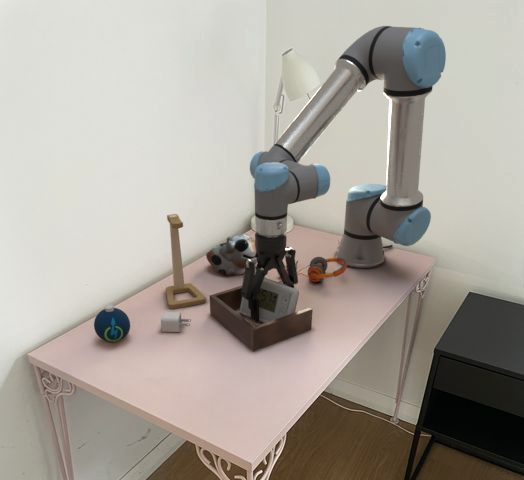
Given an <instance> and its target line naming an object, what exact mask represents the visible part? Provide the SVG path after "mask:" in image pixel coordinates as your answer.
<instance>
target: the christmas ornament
mask: <svg viewBox="0 0 524 480" xmlns="http://www.w3.org/2000/svg"><path fill="white" fill-rule="evenodd" d="M93 329H94V332H95V334H96V335H97V337H98V338H99V339H100V340H102V341H104V342H107V343H118V342H121V341H123V340H124V339H126V337H127V336H128V335H129V333H130V330H131V320H130V318H129V316H128V315H127V313H126V312H125V311H123V310H122V309H120V308H118V307H114V305H113V304H107V305H105V306H104V309H102V310H100V311H99V312H98V313H97V315H96V316H95V318H94V321H93Z"/></svg>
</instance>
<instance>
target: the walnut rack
mask: <svg viewBox="0 0 524 480" xmlns="http://www.w3.org/2000/svg"><path fill="white" fill-rule="evenodd" d="M241 291H242V285H239V286H236V287H232V288H229V289H226V290H223V291H219V292H216V293H213V294H210V295H208V296H209V311H210V313H209V314H210V317H212V318H213V319H214V320H215V321H216V322H218V323H219V324H220V325H221V327H223V328H224V329H226V330H227V331H228V332H229V333H230V334H232V335H233V336H234V337H235V338H236V339H238V340H239V341H240V342H241V343H243V345H245V346H246V347H247V348H248V349H250V350H251V351H252V352H256V351H259V350H261V349H264V348H266V347H269V346H272V345H274V344H277V343H279V342H282V341H285V340H288V339H291V338H293V337H296V336H298V335H301V334H304V333H306V332H309V331H311V330H312V325H313V311H314V310H313V309H314V308H311V307H307V308H304V309H301V310H298V311H295V313H292V314H289V315H287V316H284V317H281V318H278V319H275V320H272V321H269V322H267V323H261V324H258V325H256V326H254V325H253V324H252V323H251V322H250V321H248V320H247V319H246V318H244V317H243V316H242V315H241V314H239V313H238V312H237V311H236V310H240V306H241V301H242V296H241Z"/></svg>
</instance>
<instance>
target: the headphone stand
mask: <svg viewBox="0 0 524 480" xmlns="http://www.w3.org/2000/svg"><path fill="white" fill-rule="evenodd" d="M166 219H167V222H168V223H169V235H170V249H171V263H172V265H171V266H172V279H173V280H172V281H173V285H169V286H166V287H165V295H166V302H167V307H168V309H171V310H175V309H181V308H185V307H192V306H197V305H203V304H205V303H206V301H207V298H206V296H205V295H204V294H203V293H202V292H201V291H200V290H199V289H198V288H196V286H195V285H193V283H189V282H186V283H185V277H184V269H183V268H184V267H183V259H182V249H181V240H180V231H179V229H182V228H183V227H184V221H182V220H181V218H180V216H179V215H178V214H177V213H172V214H167V216H166ZM182 293H190V294H191V295H192V296H193V297H192V298H186V299H181V300H175V296H174V295H176V294H182Z"/></svg>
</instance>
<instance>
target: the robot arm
mask: <svg viewBox="0 0 524 480" xmlns="http://www.w3.org/2000/svg"><path fill="white" fill-rule="evenodd" d="M446 53H447V51H446V46H445V42H444V41H443V39H442V37H441V36H440V35H439V33H437V31H434V30H431V29H425V28H422V27H407V26H391V25H382V26H377V27H374V28H372V29H369V30H368V31H367V32H365V33H364V34H362V35H361V36H360V37H358V38H357V39H356V40H355V41H353V43H352V44H351V45H349V46H348V48H346V49H345V50H344V52H343V53H342V54H341V55H340V57H339V58H338V59H337V60H336V61H335V63H334V70H333V71H332V72H331V74H330V75H329V76H328V78H327V79H326V80H325V81H324V82H323V83H322V85H321V86H320V87H319V88H318V90H317V91H316V92H315V93H314V94H313V96H312V97H311V98H310V99H309V101H308V102H307V103H306V104H305V105H304V107H303V108H302V109H301V111H300V112H299V113H298V115H297V116H296V117H295V118H294V119H293V121H291V123H290V124H289V125H288V127H287V128H286V129H285V130H284V132H283V133H282V134H281V135H280V136H279V138H278V139H277V140H276V141H275V143H274V144H273V145H272V146H271V147H270V148H269V150H268V151H267V150H265V151H264V150H261V151H259V152H256V153H255V154H254V155H253V156H252V157H251V160H250V162H249V172H250V175H251V177H252V178H253V179H254V183H253V188H254V232H255V233H254V240H255V248H256V254H255V257H254V258H252V259H250V260H249V259H245V261H244V263H245V271H244V273H243V280H242V285H241V286H242V291H241V296H242V297H244V298H245V299H247V300H248V308H249V309H250V310H251V318H250V319H251V320H252V321H254V322H255V323H260V322H259V299H258V298H257V295H258V293H259V290H260V287H261V285H262V282H263V280H264V277H265V278H266V276H267V275H268V273H269V271H271V270H273V269H274V270H276V272H277V274H278V276H279V277H280V278H279V279H280V281H282V282H281V283H283V284H286V285H287V286H289V287H292V288H295V285H298V283H299V279H298V275H297V274H298V273H297V272H298V271H297V269H296V268H297V264H296V253H297V251H296V250H295V249H294V248H292V247H291V246H287V236H288V235H287V231H288V207H289V205H293V204H296V203H301V202H303V201H308V200H312V199H317V198H319V197H321V196H324V195H325V194H327V193H328V191H329V190H330V188H331V175H330V172H329V170H328V168H327V167H326V165H324V164H321V163H311V164H307V165H305V164H302V163H300V161H301V160H302V159H303V158H304V157H305V155H306V154H307V153H308V151H309V150H310V149H311V148H312V147H313V146H314V144H315V143H316V142H317V140H318V139H319V138H320V137H321V136H322V134H323V133H324V132H325V131H326V129H328V127H329V126H330V125H331V124H332V122H333V121H334V119H335V118H336V117H337V116H338V115H339V113H340V112H342V110H343V109H344V107H345V106H346V105H347V104H348V102H349V101H350V100H351V99H352V97H353V96H354V95H355V94H356V93H357V92H361V91H363V90H364V89H365V88H366V87H367V86H368V84H369V83H371V82H373V81H377V80H379V81H383V95H384V96H385V97H386V98H387V99H388V100H389V104H388V129H387V130H388V131H387V159H386V185H384V184H378V183H364V184H358V185H355V186H352V187H351V188H350V189H349V190H348V191H347V198H346V200H345V214H344V226H343V235H342V237H341V239H340V240H339V239H337V245H338V246H337V248H336V252H335V258H342V259H344V260H345V261H346V264H347V267H351V268H356V269H372V268H376V267H379V266H381V265H382V264H384V261H385V251H384V249H390V248H393V247H394V245H393V244H390V245H384V244H383V239H382V238H384V239H385V240H388V241H390V242H393V243H394V244H395V245H400V246H403V247H410V246H413V245H415V244H416V243H418V242H419V241H421V240H422V238H423V237H424V236H425V234H426V232H427V231H428V228H429V226H430V223H431V220H432V219H431V218H432V215H431V214H432V213H431V211H430V210H429V209H428V207H425V206H424V194H423V192H422V191H421V190H419V184H420V171H421V158H422V145H423V133H424V131H423V130H424V119H425V118H424V117H425V105H426V98H427V97H428V96H429V95H430V94H431V93H432V92H433V87H434V86H435V85H436V84H437V83H438V82H439V81H440V79H441V78H442V73H443V72H444V71H445V66H446V61H447V54H446ZM284 259H285V263H284V261H283V260H284ZM285 264H286V266H285ZM286 270H287V271H288V274H287V272H286Z"/></svg>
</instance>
